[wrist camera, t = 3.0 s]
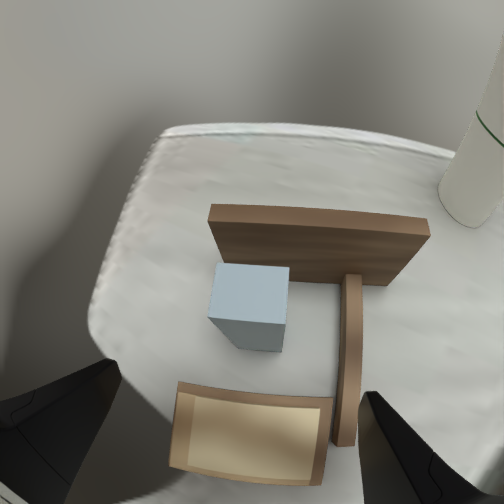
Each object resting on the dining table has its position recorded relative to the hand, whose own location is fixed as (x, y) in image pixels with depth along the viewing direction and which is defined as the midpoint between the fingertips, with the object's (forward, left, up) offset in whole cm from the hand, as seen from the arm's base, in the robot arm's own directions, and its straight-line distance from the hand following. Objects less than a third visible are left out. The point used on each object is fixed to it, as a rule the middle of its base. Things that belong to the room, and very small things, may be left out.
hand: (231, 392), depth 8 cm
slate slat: (+3, +3, -11) cm, 12 cm away
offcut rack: (+2, -1, -11) cm, 11 cm away
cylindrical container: (+29, -4, -11) cm, 31 cm away
